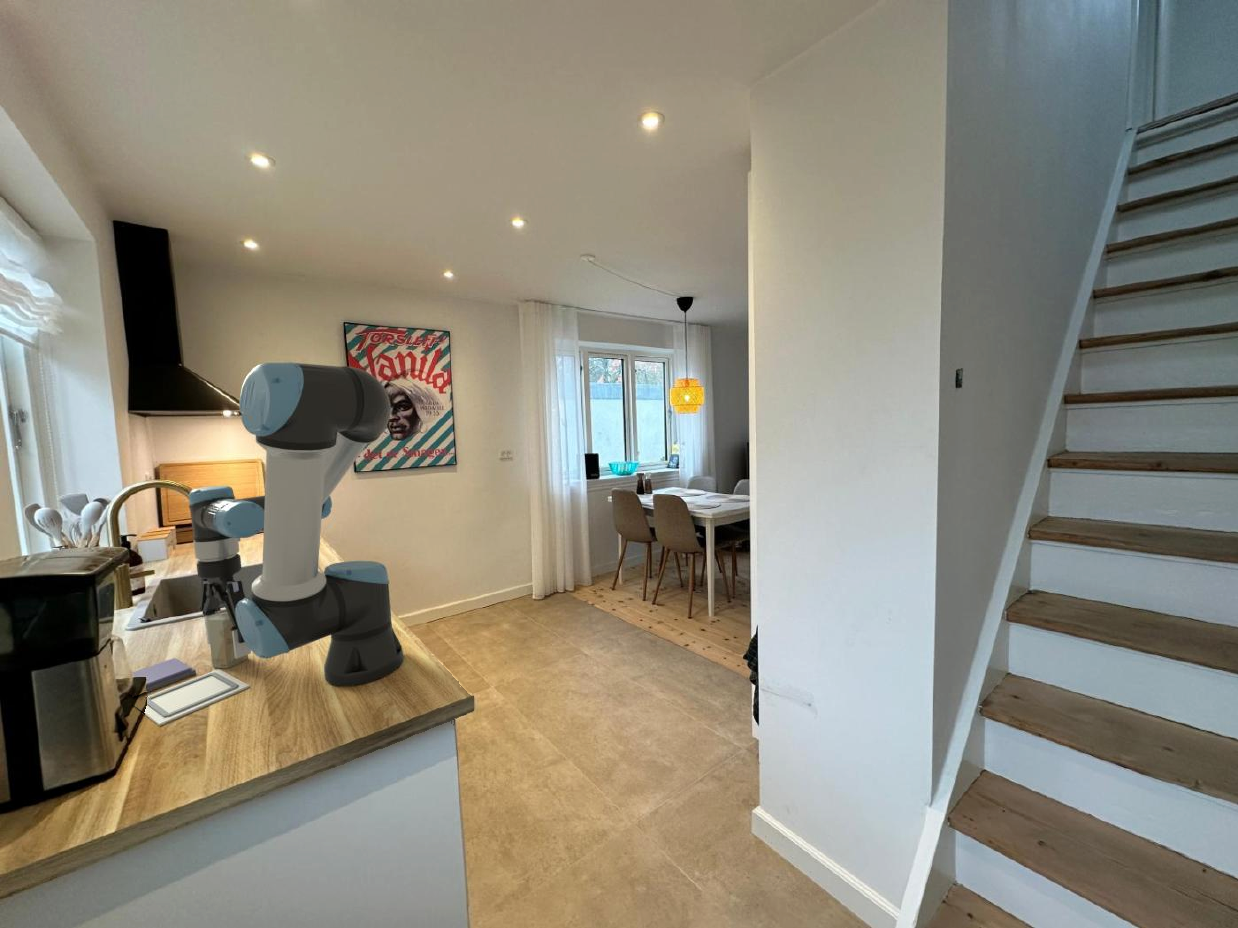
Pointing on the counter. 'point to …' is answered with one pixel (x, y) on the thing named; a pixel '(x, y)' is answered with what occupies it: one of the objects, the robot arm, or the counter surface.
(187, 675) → the pad
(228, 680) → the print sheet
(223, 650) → the box
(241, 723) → the counter surface
